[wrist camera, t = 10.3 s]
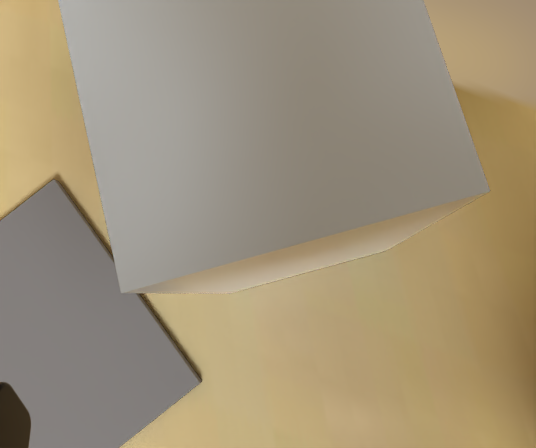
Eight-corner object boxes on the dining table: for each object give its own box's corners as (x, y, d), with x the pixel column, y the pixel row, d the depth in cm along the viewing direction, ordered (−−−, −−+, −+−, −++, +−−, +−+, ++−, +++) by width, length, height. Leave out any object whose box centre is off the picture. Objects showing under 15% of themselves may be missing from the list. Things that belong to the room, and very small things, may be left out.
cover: (386, 250, 20) (490, 190, 8) (230, 293, 21) (121, 293, 9) (340, 102, 21) (376, -135, 10) (192, 144, 22) (51, -34, 10)
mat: (202, 381, 20) (199, 383, 20) (-9, 548, 20) (-15, 553, 20) (58, 181, 22) (53, 179, 22) (-136, 332, 22) (-144, 333, 21)
